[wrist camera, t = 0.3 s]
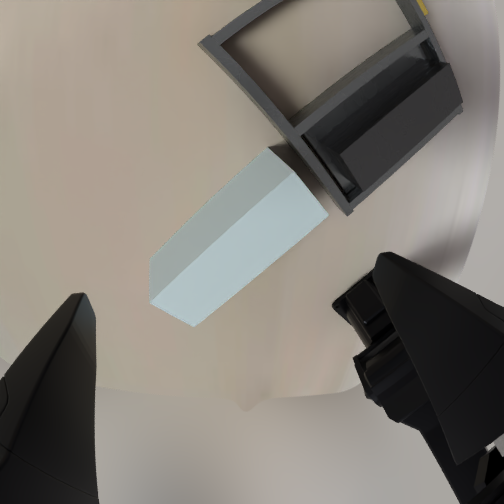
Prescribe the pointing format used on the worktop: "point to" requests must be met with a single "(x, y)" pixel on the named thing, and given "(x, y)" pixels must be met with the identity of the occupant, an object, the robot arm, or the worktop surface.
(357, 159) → the rack
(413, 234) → the worktop surface
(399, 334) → the robot arm
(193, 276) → the panel
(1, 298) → the worktop surface
